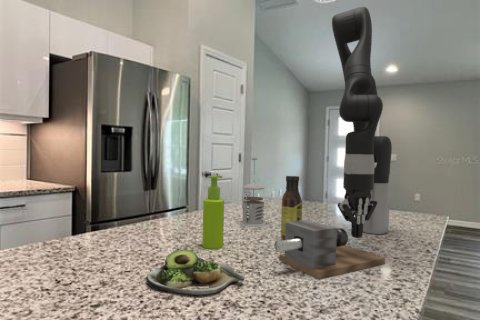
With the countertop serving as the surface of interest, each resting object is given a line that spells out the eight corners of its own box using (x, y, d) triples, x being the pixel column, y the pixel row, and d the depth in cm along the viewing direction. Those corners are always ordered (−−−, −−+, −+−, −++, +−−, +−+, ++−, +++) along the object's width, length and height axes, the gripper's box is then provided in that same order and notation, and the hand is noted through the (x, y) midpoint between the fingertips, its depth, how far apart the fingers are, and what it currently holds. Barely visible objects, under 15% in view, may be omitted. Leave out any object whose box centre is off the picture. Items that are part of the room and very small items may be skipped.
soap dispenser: (227, 243, 100) (229, 175, 99) (218, 250, 93) (219, 176, 93) (209, 241, 102) (210, 174, 101) (198, 247, 95) (200, 175, 95)
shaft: (333, 244, 89) (334, 225, 89) (348, 249, 85) (349, 229, 85) (270, 254, 79) (271, 233, 79) (284, 260, 74) (284, 238, 74)
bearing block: (341, 249, 97) (342, 214, 97) (385, 263, 85) (386, 223, 85) (279, 260, 86) (280, 220, 86) (319, 279, 74) (320, 232, 73)
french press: (270, 223, 129) (272, 157, 128) (255, 229, 119) (257, 157, 118) (248, 220, 134) (249, 156, 133) (231, 225, 124) (233, 156, 124)
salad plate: (257, 274, 77) (257, 253, 77) (224, 307, 60) (225, 281, 60) (182, 261, 84) (182, 243, 84) (134, 288, 68) (135, 265, 67)
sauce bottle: (300, 243, 102) (302, 176, 101) (279, 242, 103) (281, 176, 102) (301, 238, 108) (303, 175, 108) (281, 236, 109) (283, 174, 109)
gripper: (364, 170, 96) (362, 231, 97) (329, 171, 90) (328, 236, 90) (387, 172, 90) (385, 237, 90) (352, 173, 83) (350, 244, 84)
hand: (356, 237), depth 90 cm, fingers closed
